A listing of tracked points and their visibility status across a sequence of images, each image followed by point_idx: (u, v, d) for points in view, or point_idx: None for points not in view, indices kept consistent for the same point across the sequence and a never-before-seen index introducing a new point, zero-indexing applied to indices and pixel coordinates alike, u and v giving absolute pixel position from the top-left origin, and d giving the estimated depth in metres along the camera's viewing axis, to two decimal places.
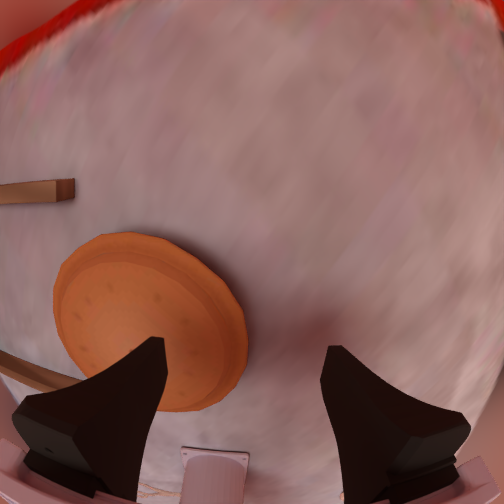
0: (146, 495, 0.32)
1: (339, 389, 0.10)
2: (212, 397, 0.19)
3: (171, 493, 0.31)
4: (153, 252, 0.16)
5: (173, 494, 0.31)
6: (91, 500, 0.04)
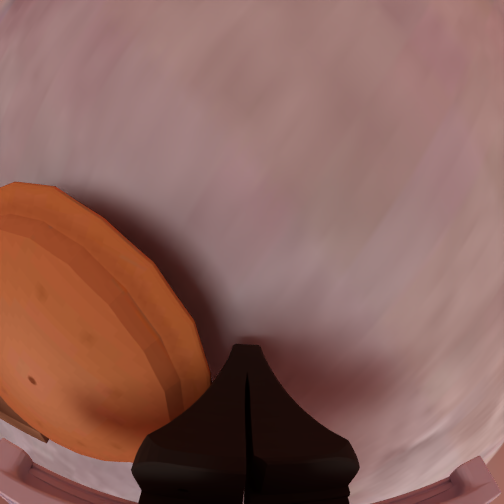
0: None
1: None
2: None
3: None
4: (37, 211, 0.07)
5: None
6: None
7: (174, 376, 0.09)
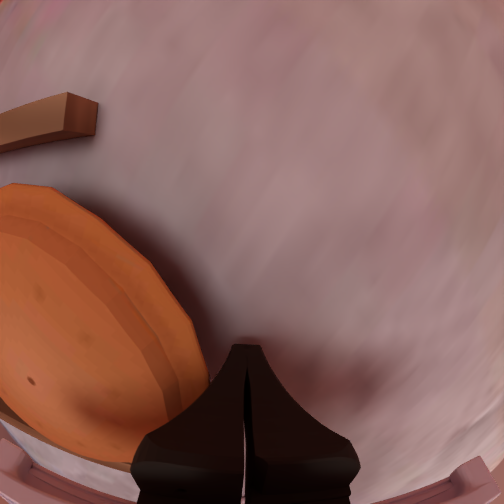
0: None
1: (245, 390, 0.09)
2: None
3: None
4: (34, 212, 0.07)
5: None
6: None
7: (172, 376, 0.09)
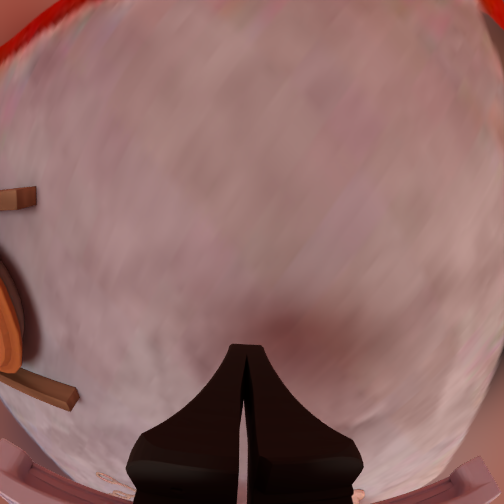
0: (129, 496, 0.31)
1: (247, 390, 0.09)
2: (13, 360, 0.18)
3: None
4: None
5: None
6: None
7: (0, 311, 0.16)
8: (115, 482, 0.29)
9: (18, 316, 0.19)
